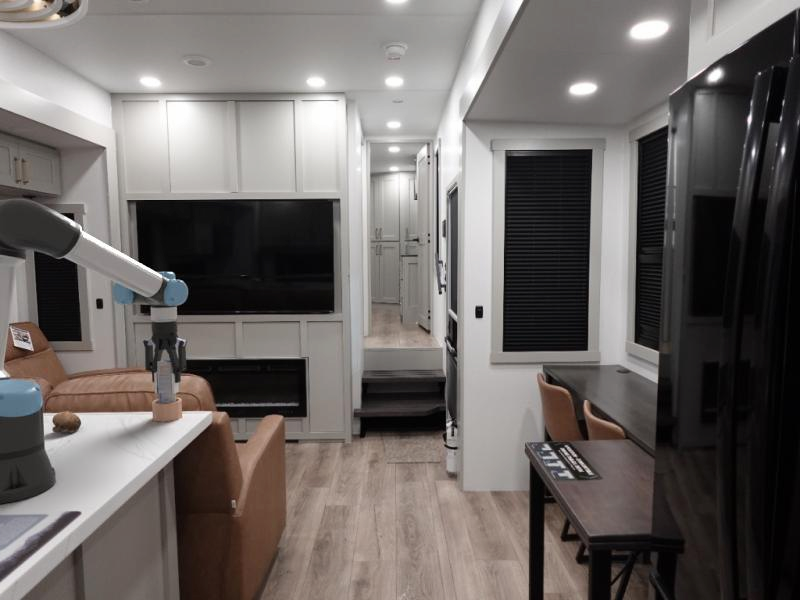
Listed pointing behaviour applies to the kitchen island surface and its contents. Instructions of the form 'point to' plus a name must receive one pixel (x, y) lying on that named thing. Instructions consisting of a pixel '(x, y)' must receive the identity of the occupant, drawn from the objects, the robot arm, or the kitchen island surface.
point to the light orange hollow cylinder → (167, 410)
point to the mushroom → (66, 422)
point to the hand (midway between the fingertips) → (166, 392)
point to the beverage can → (165, 382)
